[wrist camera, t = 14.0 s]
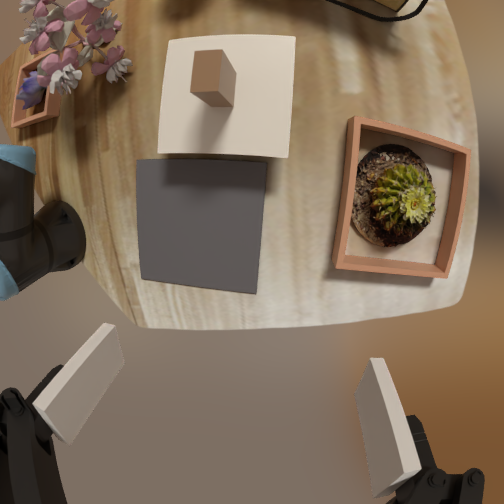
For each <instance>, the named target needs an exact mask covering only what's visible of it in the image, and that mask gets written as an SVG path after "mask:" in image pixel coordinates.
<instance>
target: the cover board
mask: <svg viewBox="0 0 504 504" xmlns="http://www.w3.org/2000/svg"><path fill="white" fill-rule="evenodd" d="M294 59H295V37H293V36H280V35H254V34H238V35H213V36H200V37H190V38H182V39H175V40H169V45H168V51H167V58H166V65H165V72H164V80H163V89H162V98H161V109H160V121H159V136H158V153H211V154H237V155H254V156H267V157H279V158H288V151H289V139H290V125H291V111H292V95H293V78H294Z"/></svg>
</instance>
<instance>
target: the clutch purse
mask: <svg viewBox="0 0 504 504" xmlns="http://www.w3.org/2000/svg"><path fill="white" fill-rule="evenodd" d="M326 1H329V2H332V3H334V4H337V5H340V6H342V7H345V8H347V9H350V10H352V11H355V12H357V13H360V14H362V15H365V16H368V17H370V18H373V19H376V20H379V21H385V22H393V21H402V20H407V19H410V18H412V17H414V16H416V15H418V14H419V13H420V12H421V10H422V9H423V8H424V6H425V5H426V3H427V1H428V0H423V1H422V2H421V4H420V5H419V7H418V8H417V9H416V10H415V11H414V12H412V13H410V14H408V15H405V16H400V17H391V18H385V17H379V16H376V15H373V14H371V13H368V12H365V11H363V10H360V9H358V8H355V7H352V6H350V5H347V4H345V3H342V2H339V1H337V0H326ZM375 1H377V2H379V3H381V4H383V5H385V6H387V7H389V8H391V9H393V10H395V12H399V11H400V10H401V9H402V8H403V6H404V5H405V4H406V3H407V2H408V1H409V0H375Z"/></svg>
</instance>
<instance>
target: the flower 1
mask: <svg viewBox="0 0 504 504" xmlns="http://www.w3.org/2000/svg"><path fill="white" fill-rule="evenodd" d="M29 74H30V75H29V76H31V77H30V78H24V79H23V80H24V81H25V82H24V83H23V84H22V86H21V87H20V88H19V89H21V88H23V89H22V90H20V92H19V94H18V95H16V99H17V100H24V102H25V105H24V106H23V109H22V110H25V109H28V108H30V107H32V106H34V105H36V104H38V103H40V102H41V100H42V97H43V93H44V90H45V89H47V86H46V87H43V86H39V84H38V82H37V76H38V73H37V72H36V71H33V72H30V73H29Z"/></svg>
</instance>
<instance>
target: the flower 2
mask: <svg viewBox="0 0 504 504" xmlns="http://www.w3.org/2000/svg"><path fill="white" fill-rule="evenodd" d="M111 1H113V0H76V1H74V2H72V3H70V4H69V5H68V6H67V7H64V6H62V5H60V4H58V3H56V2H55V0H22V2H19V3H21V4H20V5H23V6H22V7H21V8H19V11H20V12H21V13H26V12H28V11H29V10H30V9H32V8H33V7H34V6H35V5H36V8H35V10H34V13H33V16H34V18H35V21H36V22H35V21H34V20H32V23H30V22H29V21H27V20H26V18H25V19H24V20H25V21H27V22H28V23H29V24H30V26H29V27H31V28H30V29H28V28H27V29H24V36H25V37H22V38H20V40H21V41H22V42H23V43H24V44H26V43H28V42H30V41H32V40H33V42H32V43H31V45H30V47H29V51H30V53H31V55H33V54H38V51H45V50H46V49H48V48H49V47H51V48H52V49H54V50H57V51H54V52H52V53H49V54H48V55H47V56H45V57H44V58H43V59H42V60H41V62H40V63H39V64H38V66H37V73H38V76H37V82H38V84H39V86H43V87H46V86H49V85H50V93H52V94H54V91H55V88H56V89H57V91H58V92H59V93H60V95H61V96H62V94H63V92H64V91H63V88H64V90H65V91H66V94H67V95H68V92H67V91H69V93H70V94H71V90H70V88H69V86H70V87H72V88H74V89H75V88H76V87H77V86H78V81H76V80H75V79H79V80H80V79H81V76H82V72H81V71H80V70H77V68H78V67H80V66H82V65H84V64H85V63H86V62H88V61H89V60H90V59H91V58H92V57H93V47H94V48H95V49H96V50H98V52H99V53H100V54H101V55H102V56H103V57H104V58H105V60H104V64H103V63H98V62H95V63H93V64H92V69H91V71H92V73H93V74H94V75H95V76H96V75H100V74H103V73H104V72H106V71H107V75H106V78H107V80H108V81H109V82H110V83H112V80H113V81H114V80H115V82H118V81H117V80H118V77H121V78H123V77H122V76H121V75H122V74H123V73H121V71H122V72H124V73H127V67H126V66H133V65H132V62H131V60H129V59H122V60H120V58H121V57H122V56H123V54H124V52H125V50H124V48H123V47H122V46H117V48H118V49H117V48H114V47H112V48H110V49H109V50H108V53H107V56H106V55H105V54H104V53H103V52H102V51H101V50H100V49H99V48H98V47H97V46H100V45H101V44H102V43H103V42H105V43H107V42H110V41H112V40H114V38H115V35H116V32H115V30H116V29H117V31H120V30H121V24H123V23H120V21H116V19H117V17H118V16H117V13H116V14H115V15H114V16H113V17H111V15H112V12H111V10H112V9H111V10H109V11H107V8H106V9H105V11H104V13H103V14H101V13H100V12H102V11H103V9H104V7H106V6H109V5H110V2H111ZM51 3H52V4H55V5H57V7H55V8H54V9H53V10H52V11H51V12H48V10H47V8H46V6H45V5H48V4H51ZM106 11H107V13H106ZM87 12H88V13H87ZM86 13H87V15H86V16H85V18H84V20H83V22H82V23H81V24H82V25H89V26H88V27H87V29H86V30H85V32H86V33H87V36H86V39H85V38H84V37H83V36H82V35H81V34H80V33H79V32H78V30H77V28H76V26H75V24H74V23H75V20H77V19H81V18H82V17H83V16H84V15H85V14H86ZM47 21H48V22H47ZM71 31H72V32H73V33H74V34H75V35H76V36H77V37H78V38H79V39H80V40H79V41H77V42H75V43H72V44H70V45H68V46H65V44H66V42H67V39H68V37H69V34H70V32H71ZM80 43H83V45H84V46H85V47H84V49H83V50H82V51H81V52H80V54H79V55H78V51H77V50H76V49H75V48H72V47H74V46H76V45H78V44H80ZM64 46H65V47H64ZM64 50H65V51H64ZM63 51H64V55H63V59H62V62H61V60H60V52H61V53H62V54H63ZM47 74H48V75H47ZM46 75H47V76H46ZM124 75H125V74H124ZM116 78H117V80H116ZM123 80H124V81H125V82H127V81H126V80H125V79H124V78H123ZM61 86H62V88H61Z"/></svg>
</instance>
